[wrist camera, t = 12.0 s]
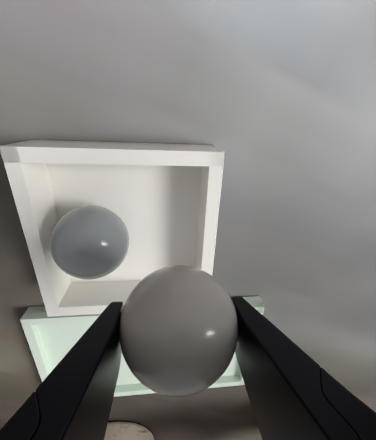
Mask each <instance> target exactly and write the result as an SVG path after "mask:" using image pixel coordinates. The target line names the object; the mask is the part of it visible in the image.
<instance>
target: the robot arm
mask: <svg viewBox="0 0 376 440" xmlns="http://www.w3.org/2000/svg"><path fill="white" fill-rule="evenodd" d="M231 300H232V302H233V304H234V307H235V310H236V314H237V320H238V341H237V346H236V350H235V354H236V358H237V362H238V365H239V368H240V371H241V374H242V377H243V381H244V384H245V387H246V390H247V393H248V396H249V399H250V402H251V405H252V408H253V412H254V415H255V418H256V421H257V424H258V427H259V430H260V433H261V436H262V440H376V412H374V411H373V410H372V409H371V408H369V407H368V406H367V405H366V404H364V403H363V402H362V401H361V400H359V399H358V398H357V397H356V396H354V395H353V394H352V393H351V392H349V391H348V390H347V389H346V388H345V387H344V386H342V385H341V384H340V383H339V382H338V381H337V380H335V379H334V378H333V377H332V376H331V375H330V374H329V373H327V372H326V371H325V370H324V369H323V368H320V366H319V365H318V364H317V363H316V362H315V361H314V360H313V359H312V358H310V357H309V356H308V355H307V354H306V353H305V352H304V351H303V350H301V349H300V348H299V347H298V346H297V345H296V344H295V343H293V342H292V341H291V340H290V339H289V338H288V337H287V336H286V335H284V334H283V333H282V332H281V331H280V330H279V329H278V328H277V327H275V326H274V325H273V324H272V323H271V322H270V321H269V320H268V319H266V318H265V317H264V316H263V315H262V314H261V313H260V312H259V311H257V310H256V309H255V308H254V307H253V306H252V305H251V304H249V303H248V302H247V301H246V300H245V299H244V298H243V297H241V296H232V297H231ZM123 307H124V305H123V302H122V301H118V302H111V303H110V304H109V305H108V306H107V307H106V309H105V310H104V311H103V312H102V313H101V314H100V316H99V317H98V318H97V319H96V320H95V321H94V323H93V324H92V325H91V326H90V327H89V328H88V330H87V331H86V332H85V333H84V334H83V335H82V337H81V338H80V339H79V340H78V341H77V342H76V344H75V345H74V346H73V347H72V348H71V349H70V351H69V352H68V353H67V354H66V355H65V356H64V358H63V359H62V360H61V361H60V362H59V363H58V365H57V366H56V367H55V368H54V369H53V370H52V371H51V373H50V374H49V375H48V376H47V377H46V378H45V380H44V381H43V382H42V383H41V384H40V385H39V387H38V388H37V389H36V392H33V393H32V395H31V396H30V397H29V398H28V399H27V400H26V402H25V403H24V404H23V405H22V406H21V407H20V408H19V410H18V411H17V412H16V413H15V414H14V415H13V416H12V417H11V419H10V420H9V421H8V422H7V423H6V424H5V425H4V426H3V427H2V428H1V430H0V440H104V437H105V433H106V428H107V424H108V419H109V415H110V410H111V406H112V401H113V397H114V392H115V388H116V383H117V379H118V374H119V369H120V362H121V353H122V351H121V346H120V341H119V324H120V317H121V313H122V310H123Z"/></svg>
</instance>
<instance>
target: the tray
mask: <svg viewBox="0 0 376 440" xmlns="http://www.w3.org/2000/svg"><path fill="white" fill-rule="evenodd" d="M230 298H231V297H230ZM243 298H244V299H245V300H246V301H247V302H248V303H249V304H251V305H252V306H253V307H254V308H255V309H256V310H257V311H259V312H260V313H261V314H262V315H263V312H264V308H265V307H264V305H263V303H262V301H261V299H260V297H259V296H250V297H243ZM99 316H100V314H91V315H72V316H53V317H48V316H47V312H46V309H45V306H36V307H28V309H27V310H26V312H25V313H24V315H23V316H22V317H21V319H20V321H21V324H22V327H23V330H24V333H25V335H26V338H27V341H28V344H29V347H30V349H31V352H32V355H33V358H34V361H35V363H36V366H37V369H38V372H39V375H40V377H41V380H42V382H43V381H44V380H45V378H46V377H47V376H48V375H49V374H50V373H51V371H52V370H53V369H54V368H55V367H56V366H57V365H58V363H59V362H60V361H61V360H62V359H63V358H64V356H65V355H66V354H67V353H68V352H69V351H70V349H71V348H72V347H73V346H74V345H75V344H76V342H77V341H78V340H79V339H80V338H81V337H82V335H83V334H84V333H85V332H86V331H87V330H88V328H89V327H90V326H91V325H92V324H93V323H94V321H95V320H96V319H97V318H98V317H99ZM237 385H245V384H244V381H243V377H242V374H241V371H240V368H239V365H238V362H237V358H236V354H235V353H234V356H233V358H232V360H231V363H230V364H229V366H228V368H227V369H226V371H225V372H224V373H223V375H222V376H221V377H220V378H219V379H218V380H217V381H216V382H215V383H214V384H213V385H211V386H210V387H208V388H215V387H226V386H237ZM150 393H156V392H154V391H152V390H150V389H149V388H147V387H146V386H144V385H143V384H142V383H141V382H140V381H139V380H138V379H137V378H136V377H135V376H134V375H133V374H132V372H131V371H130V369H129V367H128V366H127V364H126V362H125V359H124V357H123V354H122V353H121V362H120V369H119V374H118V379H117V383H116V388H115V392H114V397H117V396H128V395H139V394H150Z"/></svg>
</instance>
